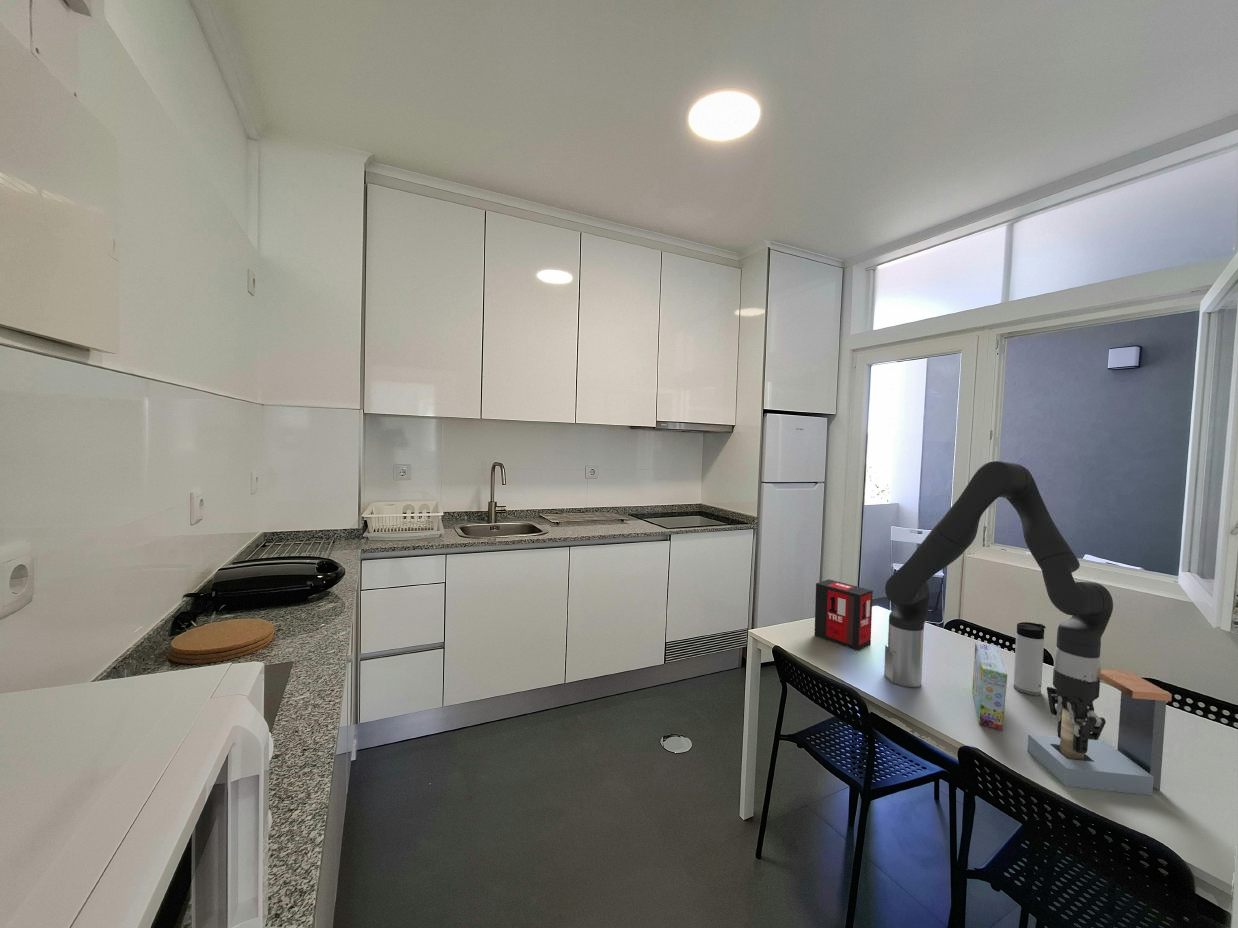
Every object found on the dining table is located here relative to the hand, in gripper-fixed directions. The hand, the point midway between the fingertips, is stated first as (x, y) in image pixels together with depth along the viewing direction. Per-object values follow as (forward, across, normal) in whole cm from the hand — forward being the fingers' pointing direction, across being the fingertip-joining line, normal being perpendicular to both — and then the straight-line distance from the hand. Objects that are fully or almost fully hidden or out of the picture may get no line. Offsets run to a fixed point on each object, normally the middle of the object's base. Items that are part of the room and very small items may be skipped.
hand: (1071, 744), depth 107 cm
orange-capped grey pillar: (+6, 0, +10) cm, 11 cm away
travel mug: (+6, -37, +14) cm, 40 cm away
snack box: (+6, -24, -4) cm, 25 cm away
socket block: (+6, 0, +3) cm, 6 cm away
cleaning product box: (+6, -65, -30) cm, 72 cm away
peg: (+4, 0, 0) cm, 4 cm away
